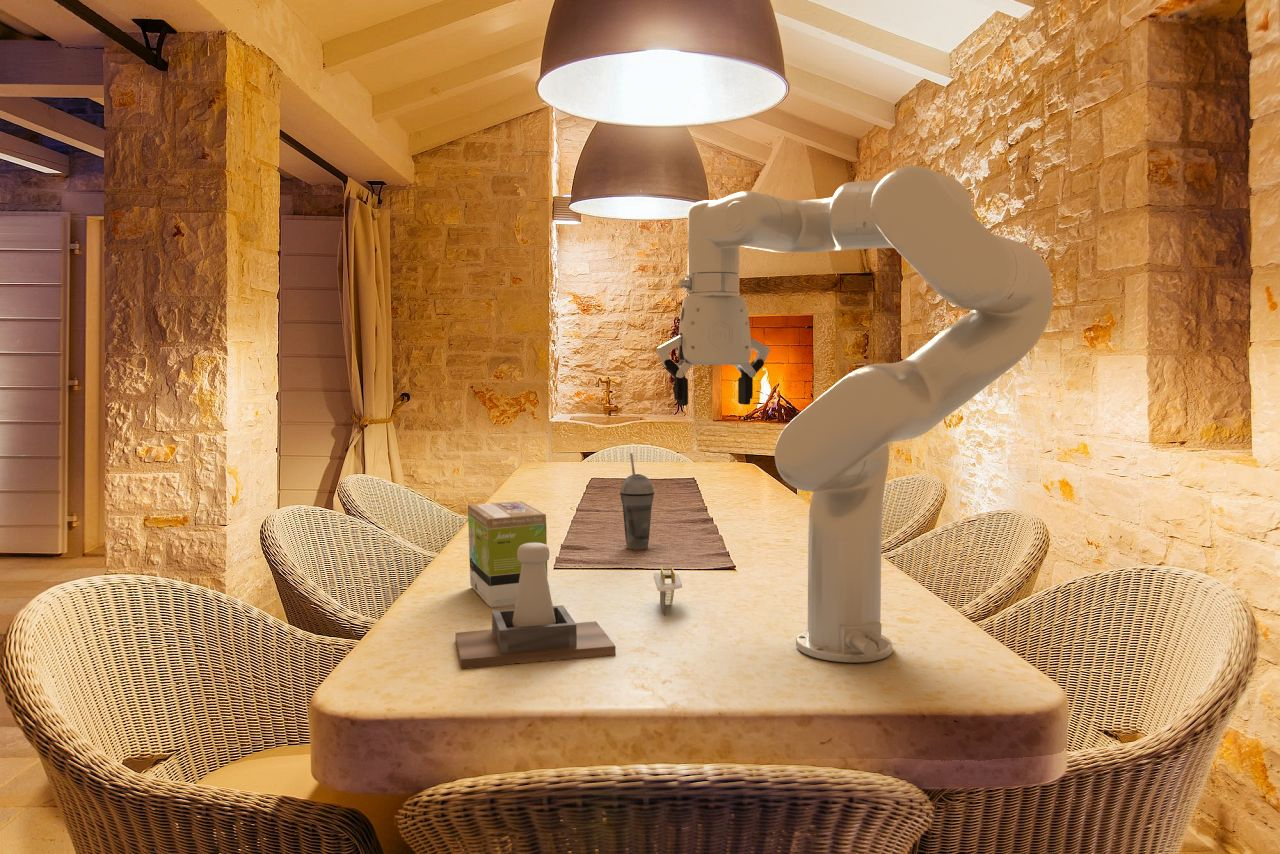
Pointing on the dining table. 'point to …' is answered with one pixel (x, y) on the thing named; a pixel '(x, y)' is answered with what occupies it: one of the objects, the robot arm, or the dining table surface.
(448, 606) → the dining table surface
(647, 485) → the beverage cup
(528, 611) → the salt shaker
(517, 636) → the stand
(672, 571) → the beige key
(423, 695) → the dining table surface
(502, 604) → the tea box
